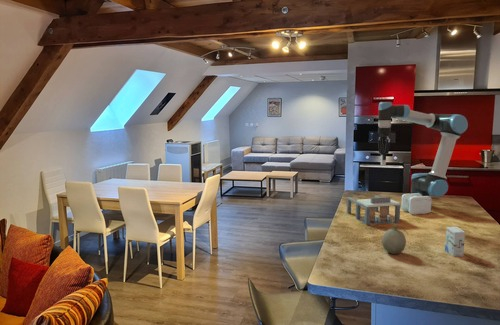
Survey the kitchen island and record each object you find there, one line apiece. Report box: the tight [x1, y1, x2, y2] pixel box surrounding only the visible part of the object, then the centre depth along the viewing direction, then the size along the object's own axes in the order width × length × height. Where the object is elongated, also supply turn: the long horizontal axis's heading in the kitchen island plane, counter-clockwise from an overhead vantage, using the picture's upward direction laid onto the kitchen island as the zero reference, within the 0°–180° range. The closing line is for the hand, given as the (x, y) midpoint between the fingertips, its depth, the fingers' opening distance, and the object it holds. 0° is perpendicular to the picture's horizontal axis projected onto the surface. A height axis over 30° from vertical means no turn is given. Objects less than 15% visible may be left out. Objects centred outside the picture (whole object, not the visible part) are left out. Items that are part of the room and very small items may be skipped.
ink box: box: [444, 226, 466, 257], centre depth 182 cm, size 9×5×12 cm, turn 178°
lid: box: [356, 196, 401, 208], centre depth 232 cm, size 21×14×4 cm
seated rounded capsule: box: [370, 207, 376, 222], centre depth 233 cm, size 5×5×9 cm
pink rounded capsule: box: [378, 206, 388, 221], centre depth 234 cm, size 5×5×9 cm
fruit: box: [381, 219, 409, 255], centre depth 183 cm, size 10×12×15 cm
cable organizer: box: [400, 193, 432, 216], centre depth 252 cm, size 15×11×12 cm
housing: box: [346, 195, 401, 226], centre depth 240 cm, size 21×27×11 cm
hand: (383, 164), depth 243 cm, fingers closed
